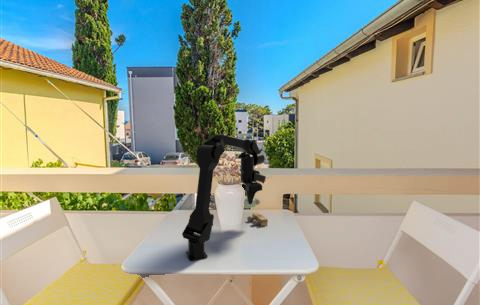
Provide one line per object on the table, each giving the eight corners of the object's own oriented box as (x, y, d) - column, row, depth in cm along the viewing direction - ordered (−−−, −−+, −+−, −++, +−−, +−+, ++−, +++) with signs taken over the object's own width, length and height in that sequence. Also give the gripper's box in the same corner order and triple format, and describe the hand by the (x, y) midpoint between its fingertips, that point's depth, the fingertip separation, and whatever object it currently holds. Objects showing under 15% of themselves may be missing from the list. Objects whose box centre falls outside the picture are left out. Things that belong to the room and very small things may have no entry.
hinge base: (267, 225, 131) (267, 219, 130) (254, 227, 128) (255, 221, 128) (257, 218, 140) (257, 212, 139) (245, 220, 137) (245, 214, 137)
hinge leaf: (262, 205, 126) (262, 199, 126) (244, 208, 123) (245, 201, 123) (255, 201, 133) (255, 195, 132) (239, 203, 129) (239, 197, 129)
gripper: (273, 170, 119) (273, 205, 121) (254, 162, 136) (254, 194, 139) (249, 172, 115) (249, 209, 117) (233, 164, 132) (233, 196, 134)
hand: (247, 201), depth 127 cm, fingers closed on hinge leaf, 7 cm apart
